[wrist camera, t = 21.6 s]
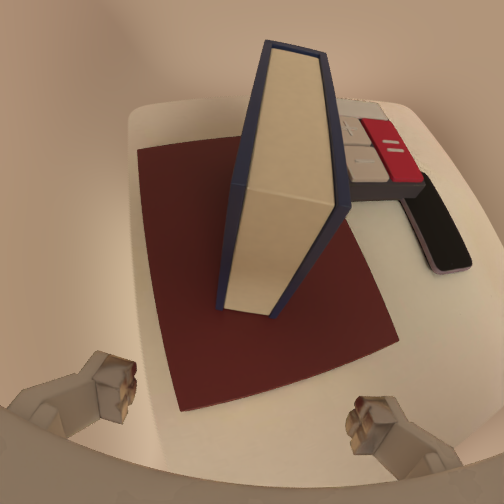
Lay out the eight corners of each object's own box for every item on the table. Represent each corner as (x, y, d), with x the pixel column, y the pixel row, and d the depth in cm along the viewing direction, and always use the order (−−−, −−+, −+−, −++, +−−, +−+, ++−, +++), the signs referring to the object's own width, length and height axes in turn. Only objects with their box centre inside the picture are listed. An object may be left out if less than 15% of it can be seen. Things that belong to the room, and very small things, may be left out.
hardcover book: (286, 173, 27) (326, 52, 16) (275, 319, 20) (352, 208, 10) (241, 165, 26) (265, 39, 16) (215, 309, 20) (230, 183, 9)
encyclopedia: (371, 353, 24) (400, 340, 20) (185, 411, 20) (180, 412, 16) (288, 162, 34) (297, 132, 30) (142, 181, 30) (136, 149, 26)
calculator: (351, 181, 29) (308, 91, 35) (337, 206, 32) (301, 115, 39) (430, 182, 30) (380, 99, 37) (413, 202, 34) (369, 120, 41)
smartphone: (425, 171, 37) (475, 266, 29) (421, 176, 38) (469, 271, 30) (386, 167, 35) (437, 272, 28) (382, 173, 36) (431, 277, 29)
